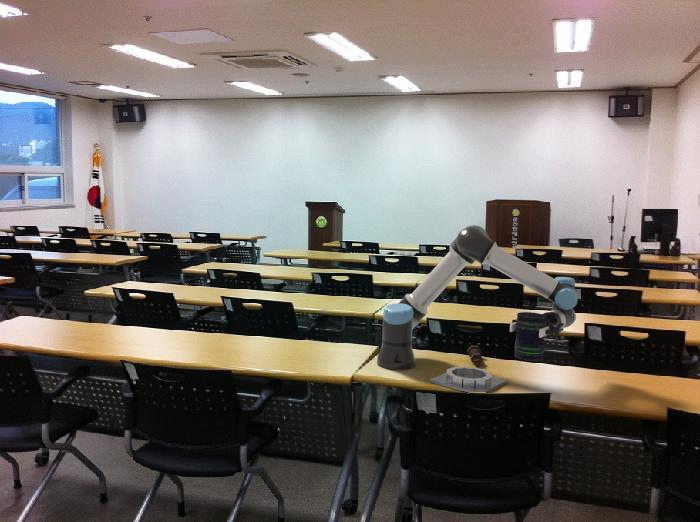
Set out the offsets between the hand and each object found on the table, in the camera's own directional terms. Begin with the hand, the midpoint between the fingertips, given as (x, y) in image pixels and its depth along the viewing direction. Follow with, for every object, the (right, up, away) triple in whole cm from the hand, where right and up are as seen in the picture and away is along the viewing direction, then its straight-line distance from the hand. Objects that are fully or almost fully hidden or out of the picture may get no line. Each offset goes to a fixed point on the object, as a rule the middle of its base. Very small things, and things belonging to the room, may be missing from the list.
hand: (525, 330), depth 195 cm
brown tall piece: (-9, -18, +39) cm, 43 cm away
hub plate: (-17, -20, +11) cm, 29 cm away
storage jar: (+3, -10, +4) cm, 11 cm away
